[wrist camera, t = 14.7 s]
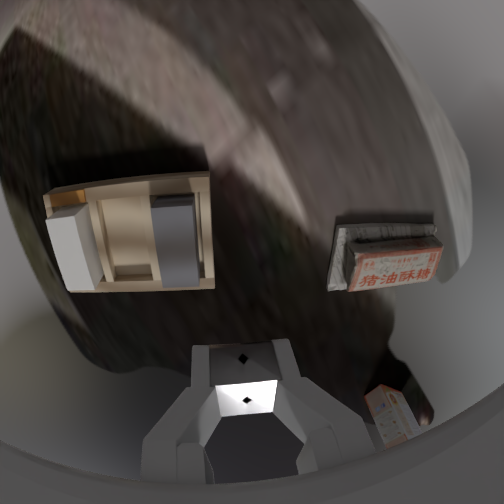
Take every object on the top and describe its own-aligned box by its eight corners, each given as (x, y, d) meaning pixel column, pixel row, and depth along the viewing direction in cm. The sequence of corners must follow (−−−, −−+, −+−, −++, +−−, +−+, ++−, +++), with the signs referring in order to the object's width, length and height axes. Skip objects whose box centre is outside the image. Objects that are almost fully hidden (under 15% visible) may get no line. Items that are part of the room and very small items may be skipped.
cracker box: (361, 396, 57) (391, 465, 39) (381, 382, 55) (415, 451, 37) (384, 403, 63) (411, 461, 44) (401, 391, 61) (431, 449, 43)
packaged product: (451, 234, 32) (433, 290, 37) (432, 220, 37) (417, 274, 41) (349, 238, 30) (336, 307, 35) (333, 222, 34) (324, 286, 39)
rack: (55, 188, 27) (31, 202, 22) (209, 170, 29) (208, 182, 24) (78, 279, 33) (63, 303, 28) (214, 274, 35) (215, 301, 30)
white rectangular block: (61, 207, 27) (45, 220, 23) (88, 203, 27) (74, 215, 23) (79, 272, 31) (67, 290, 27) (105, 271, 31) (95, 290, 28)
